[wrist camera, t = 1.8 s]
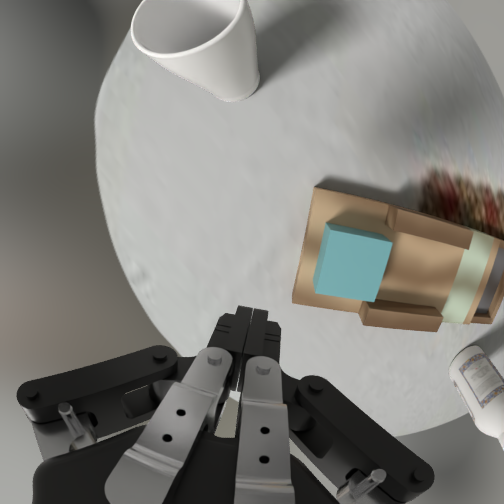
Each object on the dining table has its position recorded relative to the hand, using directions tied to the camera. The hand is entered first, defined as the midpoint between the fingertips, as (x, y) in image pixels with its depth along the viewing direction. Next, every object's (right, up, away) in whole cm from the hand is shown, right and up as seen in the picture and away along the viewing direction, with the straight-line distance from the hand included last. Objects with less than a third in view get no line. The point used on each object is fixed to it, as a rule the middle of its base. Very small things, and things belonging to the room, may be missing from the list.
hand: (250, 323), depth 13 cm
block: (+10, +3, +13) cm, 16 cm away
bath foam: (+34, -14, +17) cm, 41 cm away
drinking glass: (-2, +21, +10) cm, 24 cm away
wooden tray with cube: (+21, +2, +14) cm, 25 cm away
